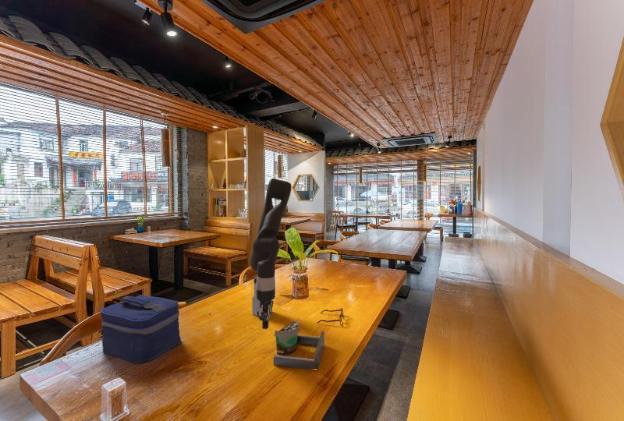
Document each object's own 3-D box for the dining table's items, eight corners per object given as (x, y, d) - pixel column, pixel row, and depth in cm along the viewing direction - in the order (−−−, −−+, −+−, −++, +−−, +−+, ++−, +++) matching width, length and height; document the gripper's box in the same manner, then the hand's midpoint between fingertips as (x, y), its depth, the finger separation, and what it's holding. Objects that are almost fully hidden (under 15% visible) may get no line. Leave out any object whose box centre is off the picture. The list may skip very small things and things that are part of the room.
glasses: (341, 327, 135) (341, 317, 135) (315, 324, 137) (315, 315, 137) (343, 316, 148) (343, 306, 148) (319, 313, 150) (319, 304, 150)
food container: (285, 360, 107) (285, 335, 106) (274, 355, 110) (274, 330, 110) (305, 346, 116) (305, 323, 116) (294, 342, 120) (294, 319, 120)
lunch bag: (89, 350, 113) (88, 301, 112) (138, 327, 132) (137, 285, 131) (144, 368, 102) (142, 313, 101) (188, 340, 121) (187, 294, 120)
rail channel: (273, 365, 104) (273, 349, 103) (286, 341, 121) (286, 327, 120) (317, 370, 101) (317, 354, 100) (324, 345, 118) (324, 331, 117)
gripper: (263, 280, 119) (262, 319, 120) (250, 291, 106) (250, 335, 107) (279, 282, 117) (279, 321, 119) (268, 293, 104) (268, 337, 106)
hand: (265, 328), depth 113 cm, fingers closed
